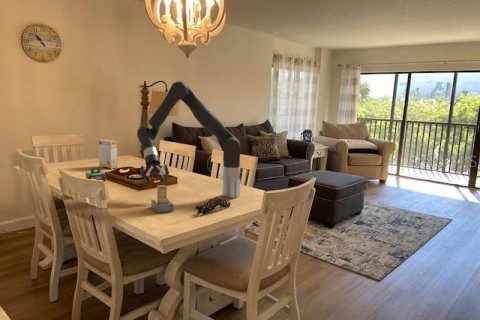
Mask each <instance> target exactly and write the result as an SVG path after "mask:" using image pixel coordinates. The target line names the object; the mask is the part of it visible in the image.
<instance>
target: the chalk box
mask: <svg viewBox="0 0 480 320" xmlns="http://www.w3.org/2000/svg"><path fill="white" fill-rule="evenodd" d="M90 169H91V170H90V171H87V172H85V179H86V178H87V179H96V180H103V181H105V182H107V179H106V178H107V177H106V176H107V175H106V173H105V172H104V171H103V170H101V167H98V166H96V167H91V168H90ZM96 170H97V171H96Z"/></svg>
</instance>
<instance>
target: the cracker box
mask: <svg viewBox="0 0 480 320" xmlns="http://www.w3.org/2000/svg"><path fill="white" fill-rule="evenodd" d="M98 165H99V166H102V167H101V168H103V167H107V168H106V169H108V168H116V169H118V141H117V140H112V139H111V140H110V139H106V138H105V139H98Z"/></svg>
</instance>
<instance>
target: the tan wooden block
mask: <svg viewBox="0 0 480 320" xmlns="http://www.w3.org/2000/svg"><path fill="white" fill-rule="evenodd" d="M167 188H168V187H167V186H166V185H165V184H162V185H157V192H156V193H157V196H156V198H157V201H156V202H157V203H158V205H164V204H167V199H168V198H167V197H168V196H167V194H168V193H167Z"/></svg>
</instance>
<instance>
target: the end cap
mask: <svg viewBox="0 0 480 320" xmlns="http://www.w3.org/2000/svg"><path fill="white" fill-rule="evenodd" d="M150 207H151V209H152V210H153V211H154V212H155V214H164V213H173V212H174V204H173V203H172V202H171V201H170V200H169V199H168V198H167V204H164V205H158V201H156V200H155V199H151V201H150Z"/></svg>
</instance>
